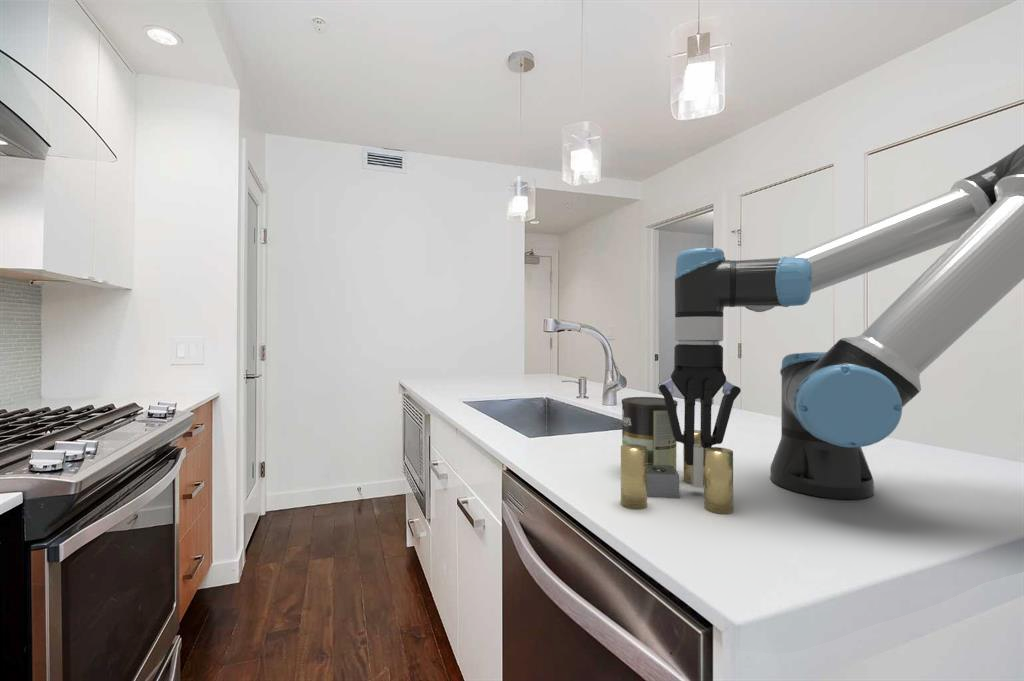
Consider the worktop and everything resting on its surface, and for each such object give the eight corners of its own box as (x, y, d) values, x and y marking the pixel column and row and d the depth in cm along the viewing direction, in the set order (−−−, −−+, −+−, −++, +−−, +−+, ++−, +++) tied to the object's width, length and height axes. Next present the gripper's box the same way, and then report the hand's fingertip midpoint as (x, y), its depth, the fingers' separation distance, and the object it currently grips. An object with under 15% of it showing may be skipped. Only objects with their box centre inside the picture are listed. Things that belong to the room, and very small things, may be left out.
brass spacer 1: (646, 500, 74) (646, 444, 74) (648, 510, 70) (648, 451, 70) (620, 499, 75) (620, 443, 75) (621, 508, 71) (621, 449, 71)
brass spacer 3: (729, 505, 72) (729, 447, 72) (736, 515, 68) (736, 454, 68) (701, 503, 73) (701, 446, 73) (707, 513, 69) (707, 452, 69)
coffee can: (624, 480, 85) (624, 403, 85) (619, 465, 95) (619, 396, 95) (683, 482, 83) (683, 404, 83) (671, 466, 94) (671, 397, 94)
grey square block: (672, 488, 81) (672, 465, 81) (679, 499, 75) (679, 474, 75) (640, 486, 82) (640, 463, 82) (644, 497, 76) (644, 472, 76)
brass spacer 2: (704, 479, 86) (704, 430, 85) (709, 485, 82) (709, 434, 82) (681, 477, 86) (681, 429, 86) (685, 484, 82) (685, 433, 82)
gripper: (734, 343, 79) (733, 480, 80) (655, 342, 82) (654, 475, 82) (747, 344, 72) (745, 495, 72) (659, 343, 75) (658, 488, 75)
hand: (696, 484), depth 77 cm, fingers closed
